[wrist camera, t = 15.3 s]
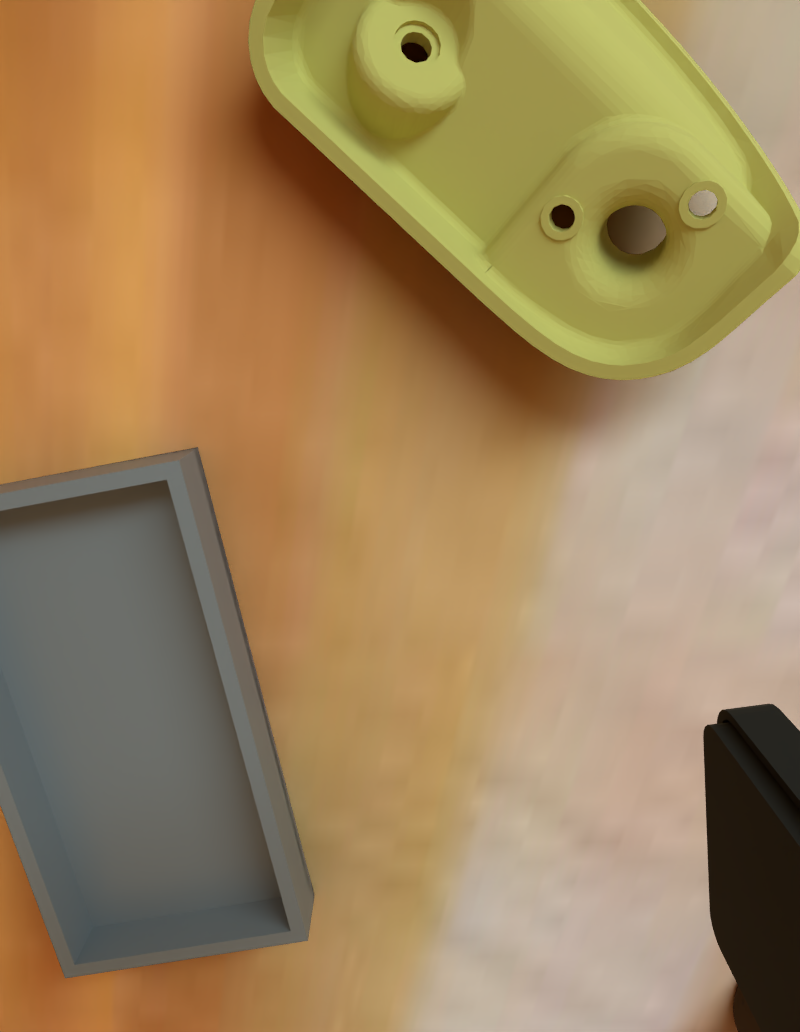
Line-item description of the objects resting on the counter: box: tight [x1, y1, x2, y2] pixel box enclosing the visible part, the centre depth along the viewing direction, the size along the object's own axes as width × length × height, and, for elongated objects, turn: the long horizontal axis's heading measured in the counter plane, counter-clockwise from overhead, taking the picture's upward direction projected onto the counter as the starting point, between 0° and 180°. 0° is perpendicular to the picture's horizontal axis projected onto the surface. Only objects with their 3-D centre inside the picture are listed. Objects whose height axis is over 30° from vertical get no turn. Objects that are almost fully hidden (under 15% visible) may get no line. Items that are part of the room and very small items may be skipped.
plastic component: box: [248, 0, 800, 380], centre depth 29 cm, size 20×7×10 cm
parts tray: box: [0, 447, 314, 978], centre depth 36 cm, size 24×12×3 cm, turn 11°
